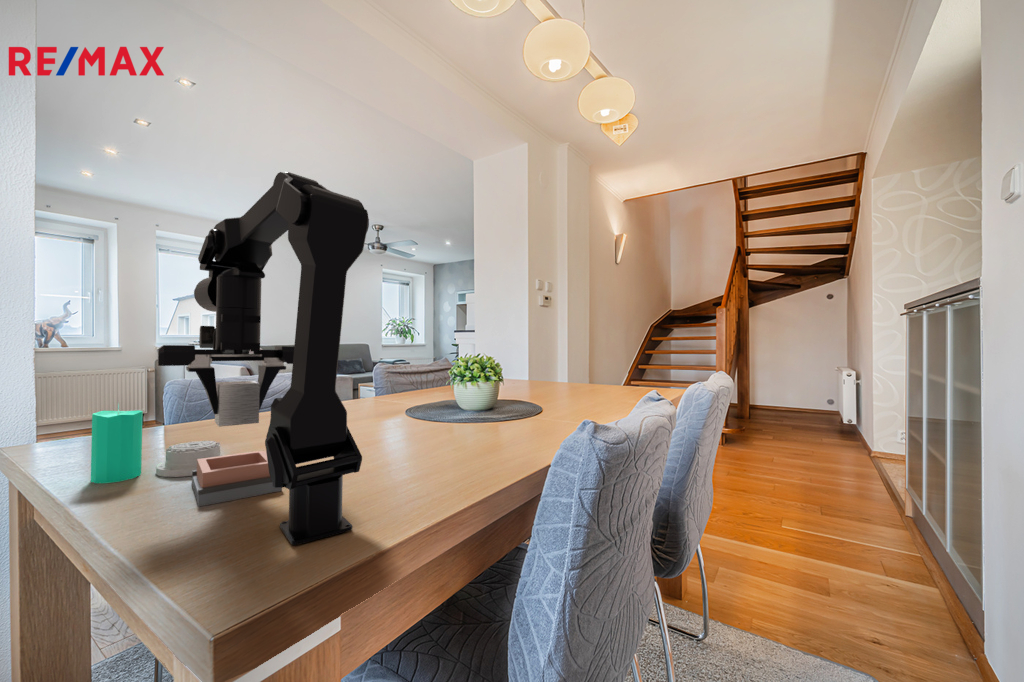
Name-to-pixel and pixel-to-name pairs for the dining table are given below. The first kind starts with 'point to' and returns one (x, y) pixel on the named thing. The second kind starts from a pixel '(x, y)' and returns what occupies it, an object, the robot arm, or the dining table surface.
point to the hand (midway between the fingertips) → (236, 412)
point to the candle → (116, 445)
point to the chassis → (231, 477)
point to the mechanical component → (186, 457)
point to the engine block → (237, 403)
